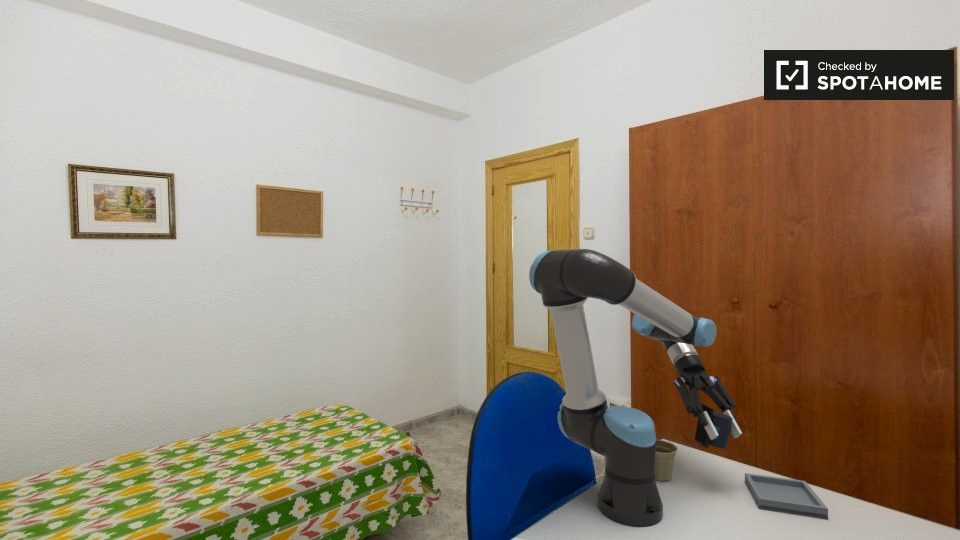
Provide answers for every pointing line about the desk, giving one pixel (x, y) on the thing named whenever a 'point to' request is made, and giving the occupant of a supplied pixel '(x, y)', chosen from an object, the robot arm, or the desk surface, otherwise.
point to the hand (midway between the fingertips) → (726, 436)
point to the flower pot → (664, 459)
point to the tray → (785, 496)
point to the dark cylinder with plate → (721, 426)
